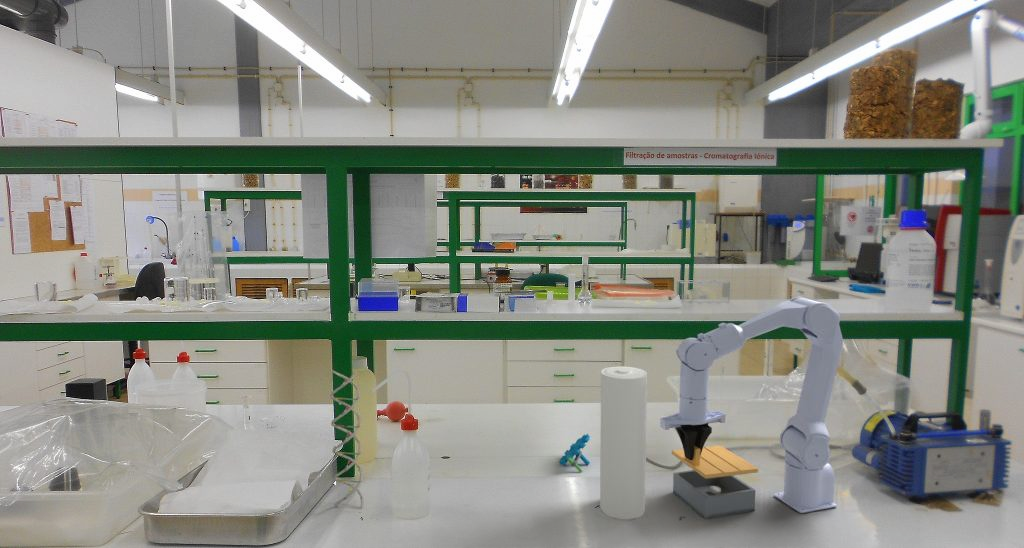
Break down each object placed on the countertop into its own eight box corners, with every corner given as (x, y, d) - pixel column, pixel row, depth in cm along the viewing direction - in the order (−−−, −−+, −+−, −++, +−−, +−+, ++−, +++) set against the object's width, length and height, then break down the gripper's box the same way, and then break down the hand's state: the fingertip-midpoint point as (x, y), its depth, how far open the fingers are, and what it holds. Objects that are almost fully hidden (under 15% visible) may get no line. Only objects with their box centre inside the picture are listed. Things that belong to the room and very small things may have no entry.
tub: (719, 484, 131) (719, 466, 131) (754, 510, 120) (755, 490, 119) (673, 492, 128) (673, 472, 127) (704, 519, 116) (705, 498, 116)
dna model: (370, 501, 125) (365, 367, 122) (356, 516, 119) (351, 375, 115) (342, 498, 126) (336, 366, 123) (327, 513, 120) (321, 374, 117)
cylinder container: (633, 494, 127) (635, 362, 124) (652, 516, 118) (655, 374, 115) (593, 499, 125) (594, 365, 122) (610, 521, 116) (611, 377, 113)
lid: (720, 451, 131) (721, 430, 130) (757, 475, 119) (759, 452, 118) (671, 456, 127) (672, 435, 127) (705, 481, 115) (706, 458, 115)
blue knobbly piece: (564, 446, 149) (590, 425, 145) (580, 463, 149) (606, 443, 144) (551, 469, 139) (578, 447, 135) (568, 487, 139) (596, 466, 135)
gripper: (712, 387, 126) (710, 446, 127) (653, 393, 122) (652, 454, 123) (732, 396, 119) (730, 459, 120) (671, 403, 115) (669, 468, 116)
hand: (692, 457), depth 121 cm, fingers closed on lid
